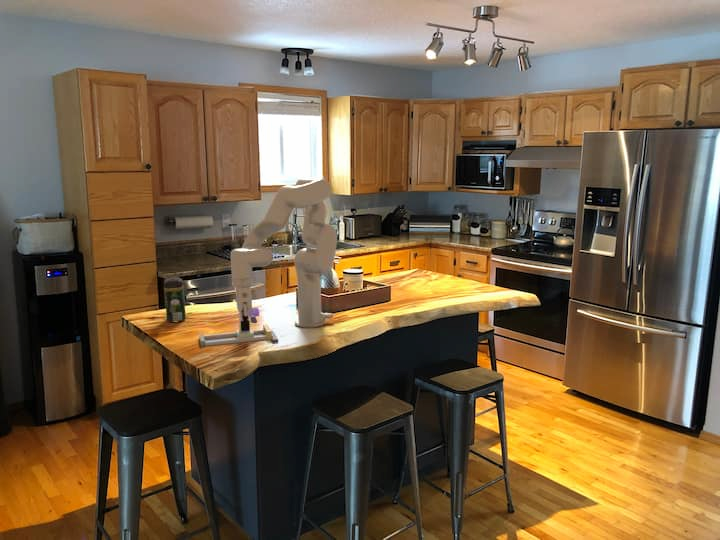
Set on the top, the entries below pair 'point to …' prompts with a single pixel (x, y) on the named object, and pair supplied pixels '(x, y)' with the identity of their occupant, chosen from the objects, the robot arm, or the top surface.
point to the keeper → (245, 333)
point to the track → (232, 339)
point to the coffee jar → (174, 299)
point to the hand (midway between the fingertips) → (244, 328)
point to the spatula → (254, 315)
